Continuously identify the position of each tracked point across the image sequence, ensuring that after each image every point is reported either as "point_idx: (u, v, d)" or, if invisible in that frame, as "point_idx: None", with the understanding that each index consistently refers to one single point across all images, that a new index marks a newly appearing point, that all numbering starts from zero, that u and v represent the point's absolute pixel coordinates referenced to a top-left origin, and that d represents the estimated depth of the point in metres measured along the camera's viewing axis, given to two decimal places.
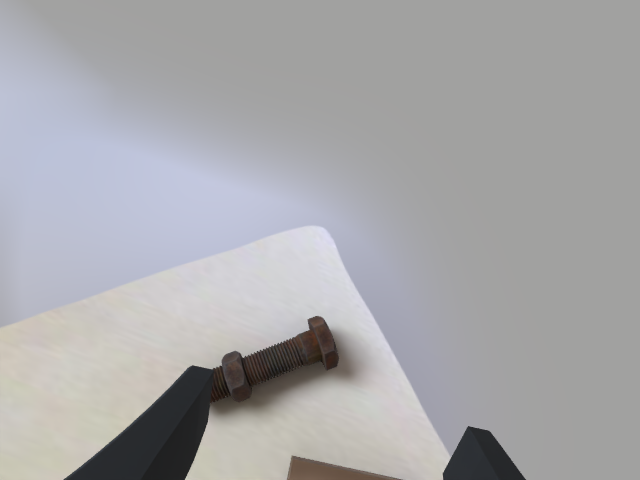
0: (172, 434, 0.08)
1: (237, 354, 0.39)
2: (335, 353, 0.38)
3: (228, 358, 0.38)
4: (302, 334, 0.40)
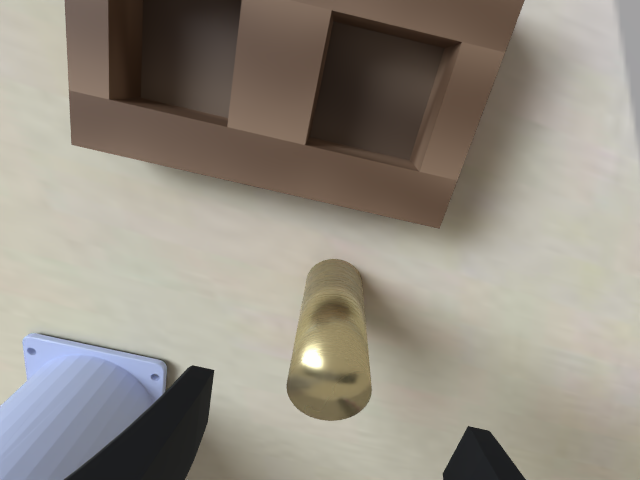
0: (172, 434, 0.08)
1: None
2: None
3: None
4: None
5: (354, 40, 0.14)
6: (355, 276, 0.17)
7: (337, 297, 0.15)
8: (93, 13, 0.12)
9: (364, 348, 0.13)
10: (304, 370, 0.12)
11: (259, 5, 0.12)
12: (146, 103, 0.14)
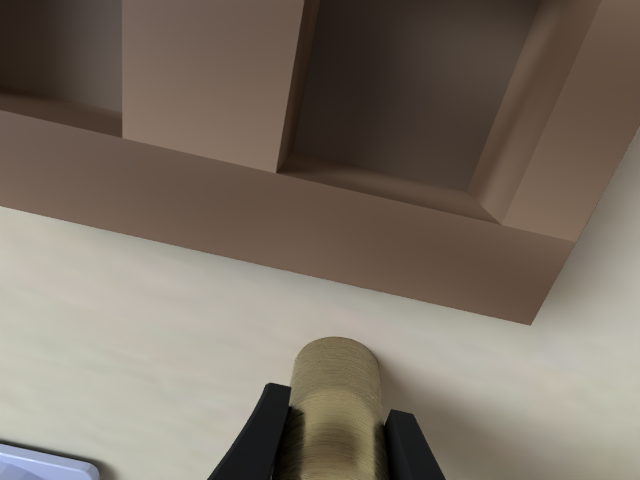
0: (273, 456, 0.08)
1: None
2: None
3: None
4: None
5: None
6: (369, 370, 0.11)
7: (339, 434, 0.08)
8: None
9: None
10: None
11: None
12: None
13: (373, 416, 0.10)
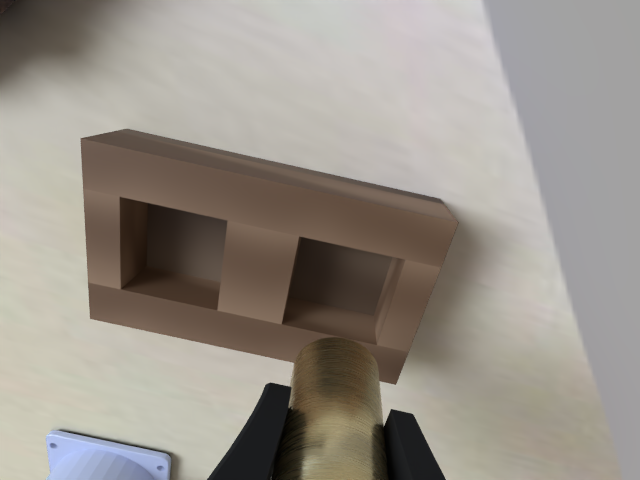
0: (273, 456, 0.08)
1: None
2: None
3: None
4: None
5: None
6: (368, 370, 0.11)
7: (338, 435, 0.09)
8: (108, 233, 0.15)
9: None
10: None
11: (241, 231, 0.14)
12: (151, 281, 0.17)
13: (372, 416, 0.10)
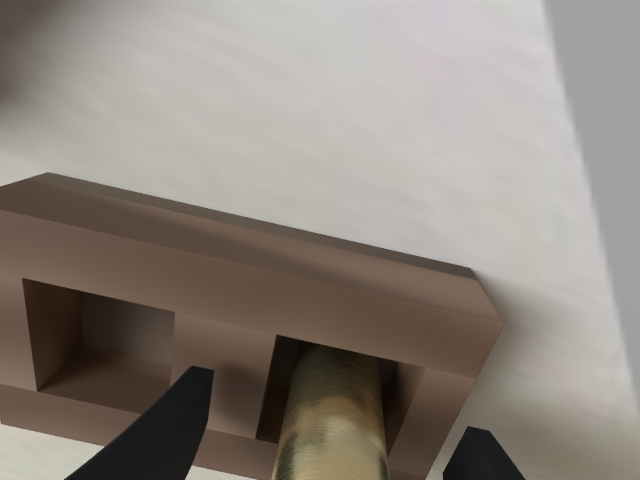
0: (172, 434, 0.08)
1: None
2: None
3: None
4: None
5: None
6: None
7: (339, 407, 0.09)
8: (11, 323, 0.11)
9: None
10: None
11: (194, 326, 0.10)
12: (84, 373, 0.13)
13: (371, 393, 0.10)
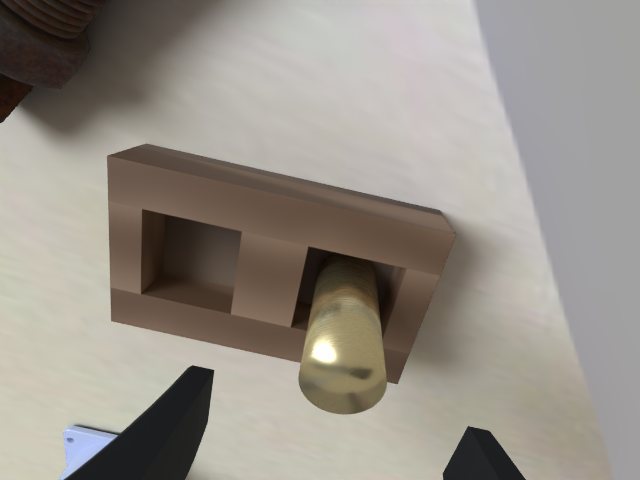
0: (172, 434, 0.08)
1: None
2: None
3: None
4: None
5: None
6: (368, 267, 0.17)
7: (350, 287, 0.14)
8: (130, 242, 0.16)
9: (379, 340, 0.13)
10: (316, 362, 0.12)
11: (254, 241, 0.15)
12: (168, 286, 0.18)
13: (370, 286, 0.15)
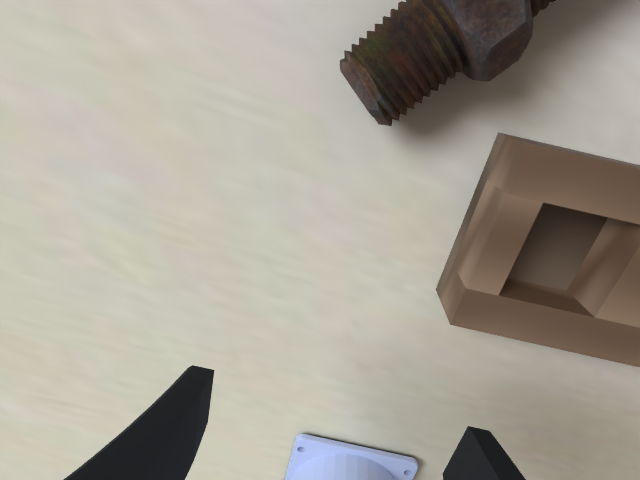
0: (172, 434, 0.08)
1: None
2: None
3: None
4: None
5: None
6: None
7: None
8: (512, 239, 0.15)
9: None
10: None
11: None
12: (507, 287, 0.17)
13: None
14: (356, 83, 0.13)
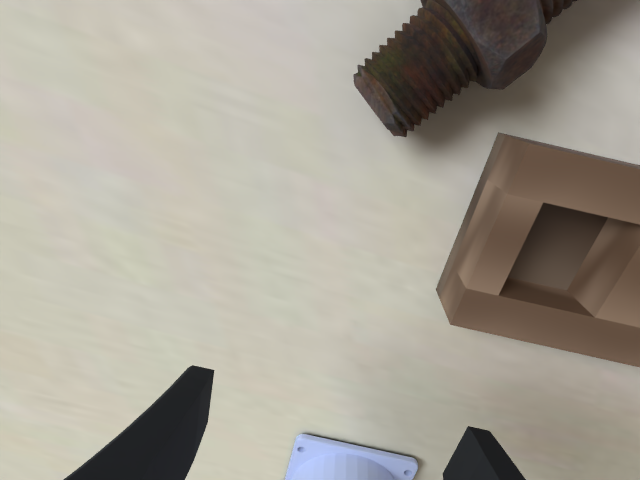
0: (172, 434, 0.08)
1: None
2: None
3: None
4: None
5: None
6: None
7: None
8: (512, 239, 0.15)
9: None
10: None
11: None
12: (507, 287, 0.17)
13: None
14: (371, 97, 0.13)
